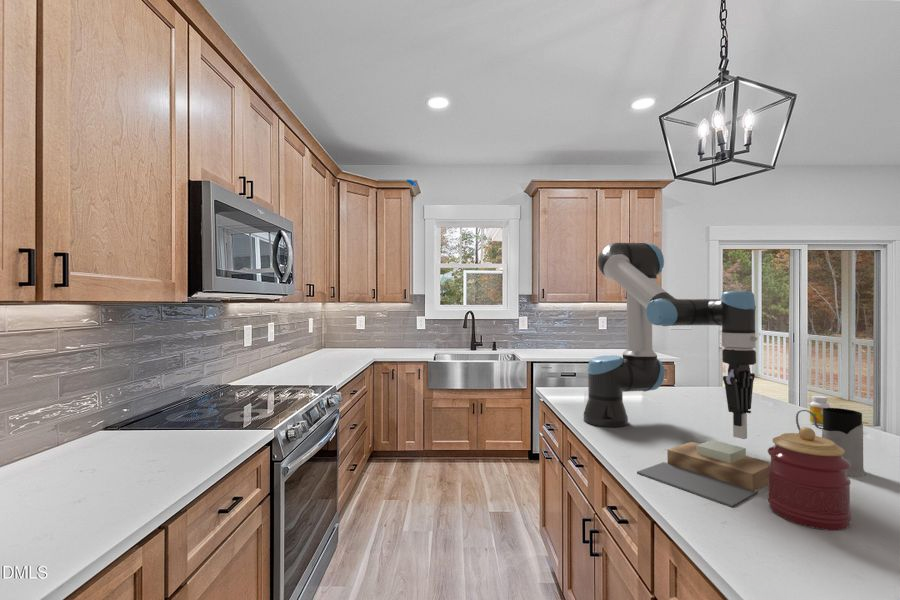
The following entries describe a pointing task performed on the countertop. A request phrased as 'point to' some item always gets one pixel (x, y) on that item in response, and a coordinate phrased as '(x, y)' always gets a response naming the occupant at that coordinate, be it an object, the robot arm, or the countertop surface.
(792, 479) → the canister
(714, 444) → the coaster
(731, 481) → the plate
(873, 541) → the countertop surface
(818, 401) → the supplement bottle
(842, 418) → the glass holder
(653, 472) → the mat
